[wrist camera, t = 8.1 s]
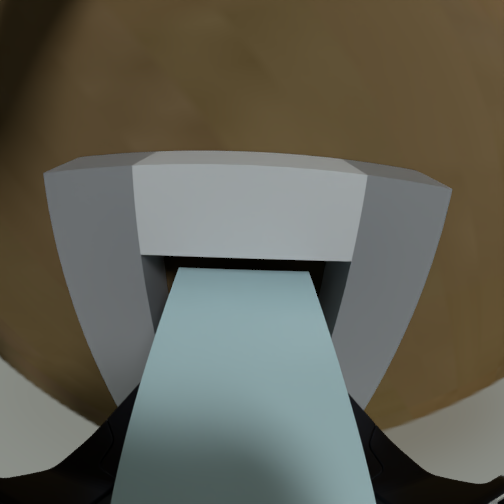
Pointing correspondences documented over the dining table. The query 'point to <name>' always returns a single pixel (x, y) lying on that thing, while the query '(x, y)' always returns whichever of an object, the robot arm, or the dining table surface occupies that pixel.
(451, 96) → the dining table surface
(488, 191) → the dining table surface
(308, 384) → the plug
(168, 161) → the socket block
